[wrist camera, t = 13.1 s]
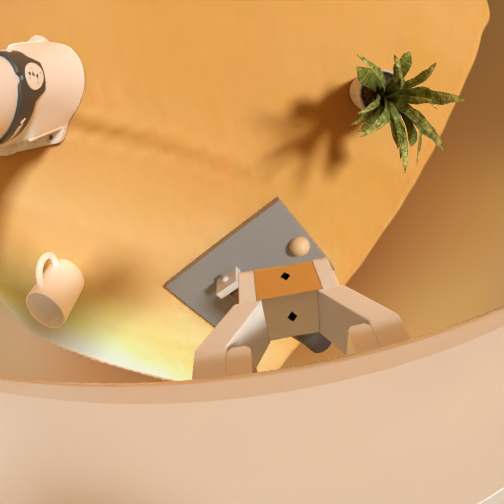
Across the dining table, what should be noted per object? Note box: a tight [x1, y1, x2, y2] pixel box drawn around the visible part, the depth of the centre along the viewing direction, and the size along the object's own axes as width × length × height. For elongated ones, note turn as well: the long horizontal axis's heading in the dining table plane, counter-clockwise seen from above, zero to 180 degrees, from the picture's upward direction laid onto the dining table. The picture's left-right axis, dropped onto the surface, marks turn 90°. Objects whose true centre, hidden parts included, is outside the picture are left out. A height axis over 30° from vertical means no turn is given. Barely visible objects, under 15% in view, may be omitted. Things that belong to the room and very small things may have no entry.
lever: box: [228, 288, 331, 353], centre depth 42 cm, size 3×6×19 cm
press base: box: [166, 197, 335, 327], centre depth 50 cm, size 24×16×6 cm, turn 129°
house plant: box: [349, 51, 465, 171], centre depth 30 cm, size 14×14×16 cm
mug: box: [26, 252, 84, 328], centre depth 46 cm, size 12×8×10 cm
